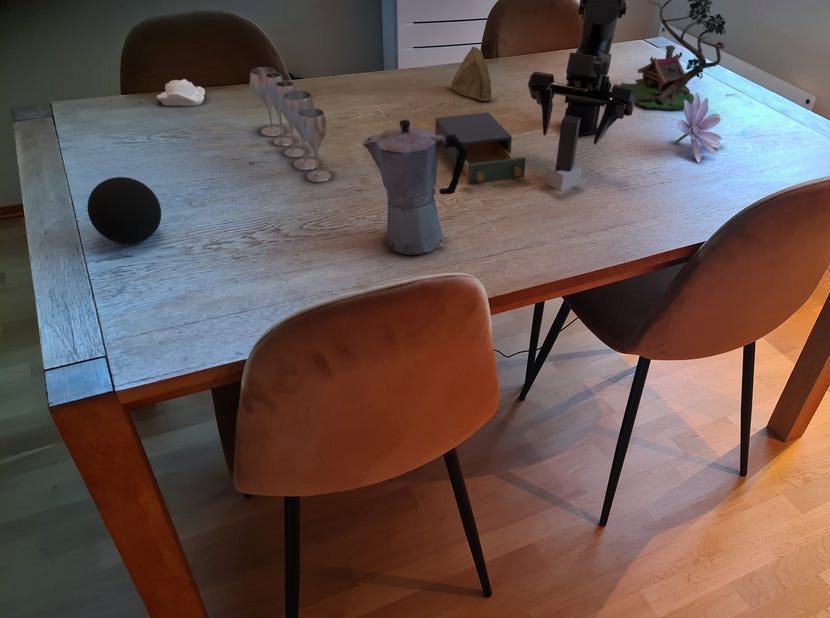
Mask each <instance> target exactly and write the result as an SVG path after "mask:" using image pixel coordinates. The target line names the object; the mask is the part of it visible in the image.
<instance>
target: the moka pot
mask: <svg viewBox="0 0 830 618" xmlns="http://www.w3.org/2000/svg"><path fill="white" fill-rule="evenodd" d="M410 121H411V120H408V119H403V120H400V121H399V123H398V124H399V127H397V128H392V129H387V130H384V131H383V132H381V133H380V134H376V135H371V136H368V138H366V139H365V140H363V142H362V147H365V148H366V149H367V151H368V152H369V154H370V156H371V157H372V159H373V161H374V163H375V164H376V166H377V168H378V169H379V172H380V175H381V178H382V179H381V180H382V184H383V187H384V189H385V190H386V196H387V222H386V224H387V225H386V242H387V245H388V246H389V248H390V249H391V250H392V251H394V252H397V253H399V254H401V255H402V254H403V255H407V256H411V255H423V254H427V253H429V252H432V251H434V250H435V249H437V248H438V247H440V245H441V243H442V242H443V239H441V238H442V236H443V233H442V228H441V223H440V219H439V214H438V208H437V204H436V199H435V194H436V189H435V186H436V184H437V171H438V162H439V161H438V160H439V150H442V149H447V148H450V147H456V148H457V149H458V150H459V154H458V156H457V161H456V164H455V166H454V168H453V171H452V176H451V177H452V178H451V181H450V183H449V184H448V187H440V188H439V189H438V192H439V194H440V195H452V194H454V193H455V192H456V189H457V186H458V184H459V180H460V177H461V175H462V172H463V170H462V169H463V166H464V162H465V159H467V153H468V151H467V148H466V147H465V146H464V145H463V143H462V142H460V141H459V139H458V138H457V137H456V135H455V134H452V135H447V136H445V135H435V134H434V133H433V132H432V131H431V130H430V129H424V128H418V127H412V126H410V125H411V122H410Z"/></svg>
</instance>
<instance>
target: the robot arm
mask: <svg viewBox="0 0 830 618" xmlns="http://www.w3.org/2000/svg"><path fill="white" fill-rule="evenodd" d="M626 12H627V2H626V0H579V5H578V12H577V15H580V16H581V20H582V22H581V34H580V37H579V41H578V45H577V49H576V51H575V52H569V55H568V61H567V66H566V70H565V74H566V75H565V80H566V81H567V83H561V82H557V81H555V77H554V74H552V73H549V72H548V73H547V72H541V71H535V70H534V72H533V73H531V75H529V79H528V83H527V86H528V90H529V95H530V97H531V99H532V100H534V101H535V102H536V104H537V105H539V106H541V117H542V119H541V120H542V135H543V136H547V134H548V131H549V126H550V122H551V117H552V113H553V112H552V111H553V107H554V103H553V100H554V97H555V95H557V96H563V97H565V98H564V103H565V104H567V107H566V108H565V111H564V116H565V115H569V116H574V117H580V118H581V120H580V127H579V133H578V137H583V136H589V135H595V136H594V139H593V145H594V146H596V145H597V144H598V143H599V142H600V140H601V139H602V138H603V136H604V135H605V133H606V132H608V130H609V128H610V127H611V126H612V125H613V124H614V123H616V121H617V120H623V119H624V118H625V117H624V116H626V117H630V116H632V115H633V113H634V112H633V111H634V108H635V104H636V103H635V90H634V88H633V87H627V86H621V84H620V85H619V84H613V85H612V83H611V82H610V81H611V79H610V76H609V75H608V74H609V71H610V66H611V61H612V53H610V52H611V48H612V46H613V45H612V44H613V41H614V37H615V32H616V28H617V24H618V19H622V17H623V16H626ZM601 107H602V108H604V111H603V113H602V116H601V119H600V122H599V116H600V110H601ZM598 122H599V124H598Z"/></svg>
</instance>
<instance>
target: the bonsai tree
mask: <svg viewBox="0 0 830 618" xmlns="http://www.w3.org/2000/svg"><path fill="white" fill-rule="evenodd" d="M671 1H672V0H667V1H666V2H665V3H664V4H663V5H661V4H660V3H657V2H651V1H650V0H648V2H649V4H651V5H652V4H653V5H657V6H659V9H660V10H659V18H660V22H661V24H662V25H663V26H664V28H665V29H666V32H668V33H669V34H670V35H671V36H672V37H673V38H674V39H675V40H676V41H677V43H679V44H680V45H682V46H683V47H684V48H685V49H686V50H688V51H689V52H690V53H692V55H694V56H695V58H693V59H688V61H687V62H688V63H687V65H686V68H685V70H689V71H687V72H685V70H684V69H683V66H682V64H681V62H680V59H681V58H682V56H683V52H682V51H680V52H679V54H678V53H677V54H675V55H673V53H674V51H675V50H676V46H674V45H672V44H670V45H666V46H665V50H666V53H665V58H658V59H657V57H653V56H651V57H650V58H649V62H650V63H648V64H647V65H645V66H642V67H640V68H638V69H637V72H638V74H641V75H642V78H637V79H634V80H635V81H634V82H635V83H628V82H627V83H626V82H625V83H624V82H620V85H621V86H627V87H633V88H634V90H635V104H636V106H639V107H642V108H644V109H659V110H665V111H672V110H684V100H687V101H688V102H689V104H690V105H692V103H693V99H694V95H693V93H691V90H690V88H689V87H687V86H686V85H687V84H688V83H689V82H690V81H691V80H692V79H693V78H695V77H697V78H698V79H699V80H702V78H704V75H703V72H704V69H707V68H708V70H711V69H710V68H713V67H716V66H718V65H719V64H720V62H721V60H722V57H721V56H722V55H721V50H723V49H725V47H726V45H725V43H723V42H721V41H718V42H716V43H715V44H714V43H711V42H707V41H705V39H707V38H709V37H711V36H712V35H713V34H714V33H715V35H720V36H722V35H725V34H726V31H727V29H725V27H724V26H725V24H726V22H727V21H726V20H725V18H724V17H722V15H721V13H717V14H715V16H714V15H710V14H711V10H710V9H711V6H713V2H712V0H687V1H686V3H689V8H690V10H689V11H686V15H687V16H685V17H679V18H672V19H665V18H664V16H663V12H664V11H663V10H664V8H665V7H666V6H667V5H668V4H669V3H670V2H671ZM707 12H708V14H707ZM689 18H690V19H691V20H692V21H693V22H691V23H689V24H688V25H687V26H686V27H684V30H683V31H682V32H681V34H680V35H678V34H677V33H676V32H675V31H674V30H673V29H672V28H671V27H670V26H669V25H668V22H676V21H682V20H685V19H689ZM707 18H708V19H707ZM706 19H707V20H706ZM694 20H695V21H694ZM695 25H697V26H699V25H703V27H702V30H703V31H702V32H701V33H700V34H699V36H698V38H697V40H696V41H697V48H696V47H694V46H693V45H692V44H690V43H689V42H688V41H686V40H685V39H684V37H685V35H686V33H687V31H688V30H689V29H690V28H692V27H693V26H695ZM708 33H709V35H708V36H705V37H703V36H704V35H705V34H708ZM702 44H704V45H707V46H709V47H713V48H715V52H716V57H717V58H716V60H715V61H714V62H707V60H706V57H705V56H704V54H703V48H702Z"/></svg>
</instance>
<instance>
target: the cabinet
mask: <svg viewBox="0 0 830 618" xmlns="http://www.w3.org/2000/svg"><path fill="white" fill-rule="evenodd" d="M434 128H435V129H434V131H435V134H434V135H445V136H447V135H452V134H455V135H456V137H457V138H458V139H459V141H460V142H462V143H463V145H470V144H478V143H486V142H495V141H498V142H499V143H500V144H501V145H502V146H503V147H504V148H505V149H506V150H507V151H508V152H509V154H510V155H512V154H511V152H512V142H513V141H512V139H513V136H512V135H511V134H510V133H509V132H508V131H507V130H506V129H505V128H504V127H503V125H502V124H501V123H499V121H497V120H496V118H495V117H494V116H493V115H491V113H490V112H488V111H487V112H478V113H469V114H468V113H466V114H458V115H449V116H439V117H435V127H434ZM441 151H442V152H443V154H444V155H445V156H446V157H447V159H448V160H449V162H450V163H451V164H452V165H453V167H455V164H456V161H457V156H458V154H459V150H458V149H457V148H456V147H450V148H447V149H441Z"/></svg>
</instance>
